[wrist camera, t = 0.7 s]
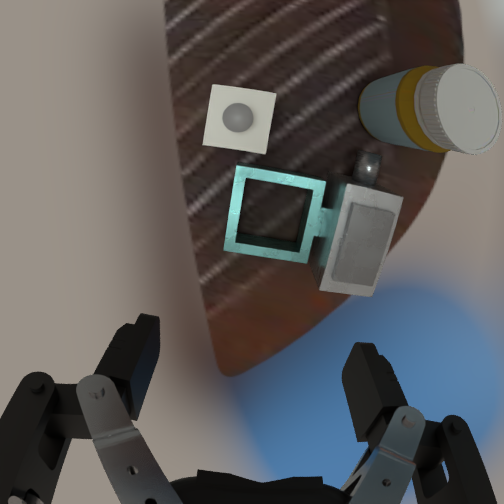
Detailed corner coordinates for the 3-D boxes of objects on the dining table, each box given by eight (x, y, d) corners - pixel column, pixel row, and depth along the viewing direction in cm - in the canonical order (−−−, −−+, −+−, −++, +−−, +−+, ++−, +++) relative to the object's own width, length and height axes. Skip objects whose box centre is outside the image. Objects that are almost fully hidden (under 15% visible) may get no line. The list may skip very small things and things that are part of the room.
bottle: (351, 134, 29) (423, 145, 16) (359, 72, 27) (434, 41, 13) (409, 149, 30) (498, 172, 16) (417, 90, 27) (508, 81, 13)
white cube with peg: (221, 93, 28) (208, 80, 20) (271, 101, 28) (278, 90, 20) (213, 141, 30) (198, 146, 22) (263, 148, 30) (266, 156, 22)
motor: (244, 125, 29) (240, 124, 22) (381, 156, 30) (415, 166, 23) (225, 246, 34) (217, 279, 27) (352, 266, 35) (374, 301, 28)
